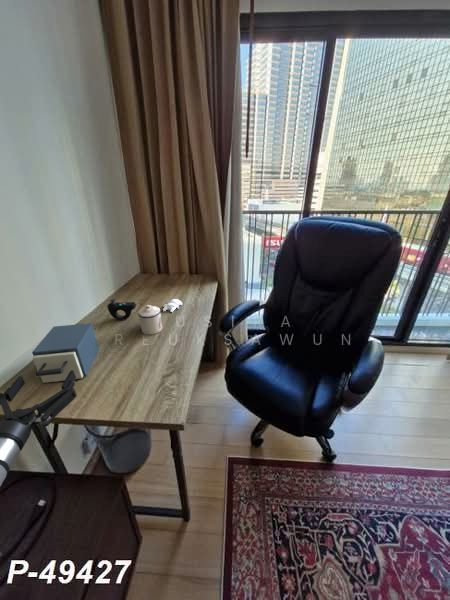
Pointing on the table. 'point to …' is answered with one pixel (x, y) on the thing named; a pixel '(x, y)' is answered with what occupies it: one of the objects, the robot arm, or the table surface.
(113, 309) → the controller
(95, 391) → the table surface
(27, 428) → the robot arm
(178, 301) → the astronaut figurine
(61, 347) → the blue cabinet box
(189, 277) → the table surface
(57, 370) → the drawer
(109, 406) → the table surface
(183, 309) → the table surface
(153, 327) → the teacup with lid
